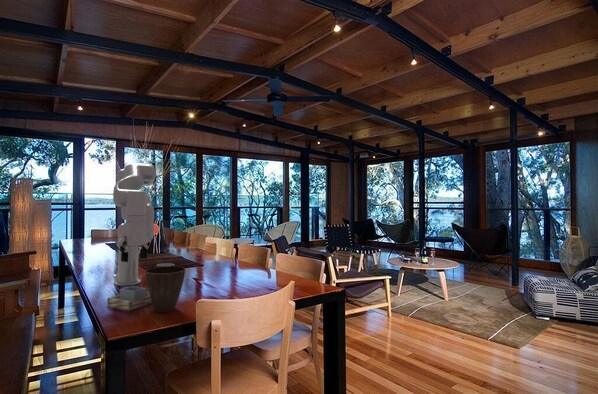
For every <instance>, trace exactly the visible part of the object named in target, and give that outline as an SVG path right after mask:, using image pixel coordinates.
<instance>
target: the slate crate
mask: <svg viewBox="0 0 598 394" xmlns="http://www.w3.org/2000/svg"><path fill="white" fill-rule="evenodd" d="M146 291H147V288H146V287H140V286H134V285H129V286H127V287H123V288H120V289H119V294H118V295H119V300H125V301H134V300H137V299H140V298H143V297H146V293H147V292H146ZM144 302H145V301H144ZM141 303H143V302H141ZM138 304H140V303H138ZM135 305H136V304H135ZM132 306H133V305H132Z"/></svg>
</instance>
